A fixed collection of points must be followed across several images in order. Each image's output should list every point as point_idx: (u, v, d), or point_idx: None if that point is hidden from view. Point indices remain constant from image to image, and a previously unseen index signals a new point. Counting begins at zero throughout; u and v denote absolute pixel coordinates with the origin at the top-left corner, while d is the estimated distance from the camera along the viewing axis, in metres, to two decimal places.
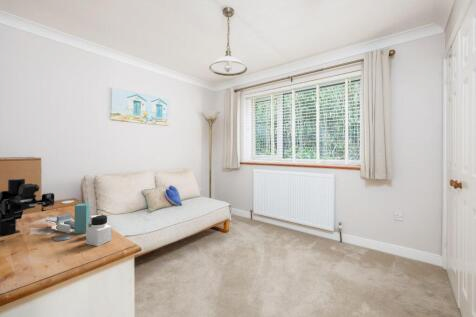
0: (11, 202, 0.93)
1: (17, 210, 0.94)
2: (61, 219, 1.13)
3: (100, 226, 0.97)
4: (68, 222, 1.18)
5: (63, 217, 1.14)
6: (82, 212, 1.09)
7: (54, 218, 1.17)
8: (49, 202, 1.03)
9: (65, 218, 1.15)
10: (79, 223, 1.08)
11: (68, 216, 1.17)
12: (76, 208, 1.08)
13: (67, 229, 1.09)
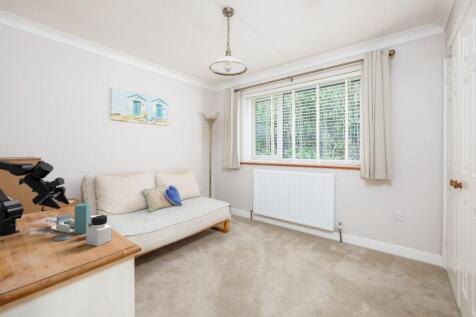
0: (48, 197, 1.00)
1: (46, 204, 1.01)
2: (61, 219, 1.13)
3: (100, 226, 0.97)
4: (68, 222, 1.18)
5: (63, 217, 1.14)
6: (82, 212, 1.09)
7: (54, 218, 1.17)
8: (63, 200, 1.12)
9: (65, 218, 1.15)
10: (79, 223, 1.08)
11: (68, 216, 1.17)
12: (76, 208, 1.08)
13: (67, 229, 1.09)
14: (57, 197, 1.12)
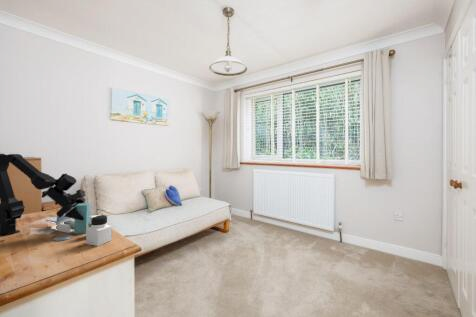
0: (73, 209, 1.04)
1: (70, 216, 1.05)
2: (61, 219, 1.13)
3: (100, 226, 0.97)
4: (68, 222, 1.18)
5: (63, 217, 1.14)
6: (82, 212, 1.09)
7: (54, 218, 1.17)
8: None
9: (65, 218, 1.15)
10: (79, 222, 1.08)
11: None
12: None
13: (67, 229, 1.09)
14: None
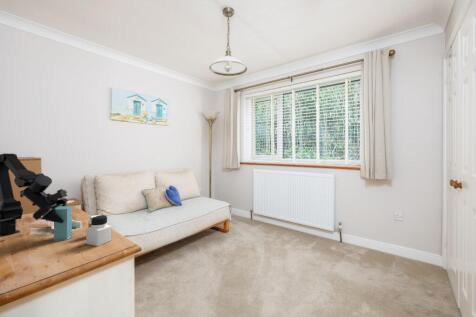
0: (51, 211, 0.95)
1: (48, 219, 0.96)
2: None
3: (100, 226, 0.97)
4: None
5: None
6: (62, 216, 1.00)
7: None
8: None
9: None
10: (60, 227, 1.00)
11: None
12: (56, 212, 0.99)
13: None
14: None
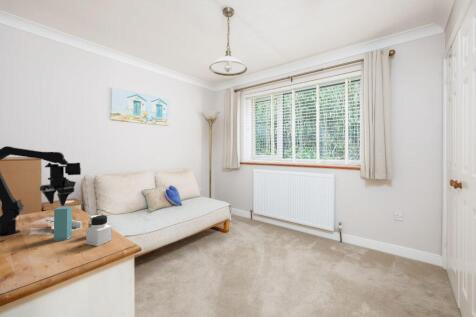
0: (70, 193, 1.15)
1: (61, 197, 1.12)
2: None
3: (100, 226, 0.97)
4: None
5: None
6: (62, 216, 1.00)
7: None
8: (51, 198, 1.18)
9: None
10: (59, 227, 1.00)
11: None
12: (56, 212, 0.99)
13: None
14: (48, 192, 1.17)
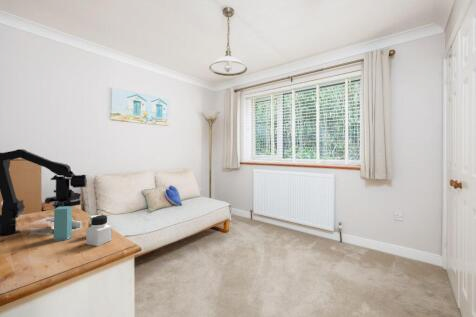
0: None
1: None
2: None
3: (100, 226, 0.97)
4: None
5: None
6: (62, 216, 1.00)
7: None
8: None
9: None
10: (59, 227, 1.00)
11: None
12: (56, 212, 0.99)
13: None
14: None
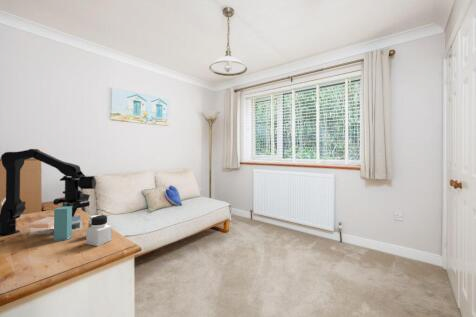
0: None
1: None
2: None
3: (100, 226, 0.97)
4: None
5: (72, 219, 1.12)
6: (62, 216, 1.00)
7: None
8: None
9: (74, 220, 1.13)
10: (59, 227, 1.00)
11: (77, 218, 1.14)
12: (56, 212, 0.99)
13: None
14: None
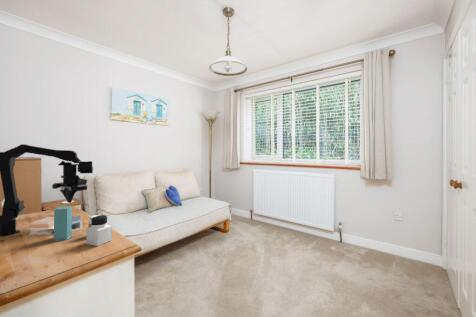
0: (77, 190, 1.19)
1: (68, 194, 1.16)
2: None
3: (100, 226, 0.97)
4: None
5: (72, 219, 1.12)
6: (62, 216, 1.00)
7: None
8: None
9: (74, 220, 1.13)
10: (59, 227, 1.00)
11: (77, 218, 1.14)
12: (56, 212, 0.99)
13: None
14: None
